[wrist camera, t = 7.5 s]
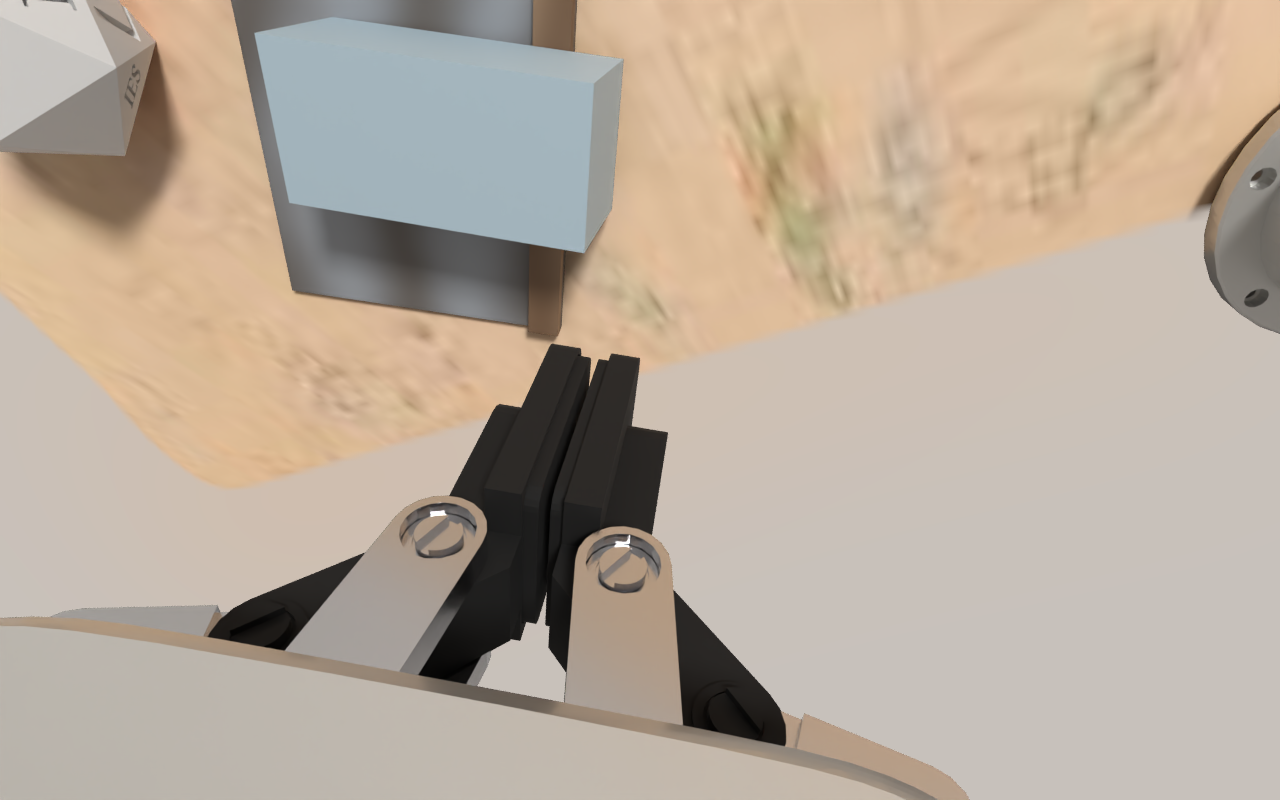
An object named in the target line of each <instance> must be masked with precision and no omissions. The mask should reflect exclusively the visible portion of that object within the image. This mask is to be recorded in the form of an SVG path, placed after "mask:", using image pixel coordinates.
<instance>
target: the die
mask: <svg viewBox="0 0 1280 800" xmlns="http://www.w3.org/2000/svg"><path fill="white" fill-rule="evenodd" d="M155 43H156V41H155V40H154V39H153V38H152V37H151V36H150V34H149V33H148V32H147V31H146V30H145V29H144V28H143V27H142V25H141V24H140V23H139V22H138V21H137V20H136V19H135V18H134V17H133V15H132V14H131V13H130V12H129V11H128V10H127V9H126V8H125V7H123V6H122V5H121V3H120V1H119V0H0V152H20V153H50V154H80V155H109V156H125V155H126V151H127V148H128V144H129V140H130V137H131V133H132V129H133V125H134V122H135V118H136V114H137V110H138V107H139V103H140V99H141V96H142V92H143V88H144V84H145V81H146V77H147V73H148V70H149V66H150V62H151V58H152V55H153V51H154V47H155Z"/></svg>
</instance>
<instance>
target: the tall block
mask: <svg viewBox="0 0 1280 800" xmlns="http://www.w3.org/2000/svg"><path fill="white" fill-rule="evenodd" d="M254 34H255V39H256V43H257V48H258V53H259V58H260V63H261V68H262V73H263V78H264V82H265V87H266V92H267V97H268V102H269V107H270V112H271V116H272V121H273V126H274V131H275V136H276V141H277V146H278V150H279V155H280V160H281V165H282V170H283V175H284V180H285V184H286V189H287V194H288V199H289V203H293V204H299V205H305V206H310V207H316V208H322V209H328V210H334V211H340V212H346V213H351V214H357V215H363V216H369V217H375V218H381V219H387V220H393V221H398V222H404V223H410V224H416V225H422V226H428V227H434V228H439V229H445V230H451V231H457V232H463V233H469V234H475V235H480V236H486V237H492V238H498V239H504V240H510V241H516V242H522V243H527V244H533V245H539V246H545V247H551V248H557V249H563V250H568V251H574V252H580V253H585V251H586V250H587V248H588V246H589V245H590V243H591V242H592V240H593V238H594V237H595V235H596V234H597V232H598V230H599V229H600V227H601V226H602V224H603V222H604V221H605V219H606V218H607V216H608V214H609V213H610V211H611V209H612V201H613V188H614V175H615V163H616V150H617V137H618V125H619V112H620V99H621V87H622V74H623V61H624V59H620V58H613V57H606V56H599V55H592V54H585V53H578V52H571V51H564V50H558V49H551V48H544V47H537V46H530V45H523V44H516V43H509V42H502V41H495V40H489V39H482V38H475V37H468V36H461V35H454V34H447V33H440V32H433V31H426V30H419V29H413V28H406V27H399V26H392V25H385V24H378V23H371V22H364V21H357V20H350V19H344V18H337V17H330V18H325V19H320V20H315V21H310V22H306V23H301V24H296V25H291V26H286V27H281V28H276V29H271V30H266V31H261V32H256V33H254Z"/></svg>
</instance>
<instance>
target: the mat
mask: <svg viewBox="0 0 1280 800" xmlns="http://www.w3.org/2000/svg"><path fill="white" fill-rule="evenodd" d="M231 2H232V7H233V12H234V17H235V21H236V26H237V31H238V35H239V40H240V45H241V50H242V54H243V59H244V64H245V69H246V73H247V78H248V83H249V87H250V92H251V97H252V102H253V106H254V111H255V116H256V121H257V125H258V130H259V135H260V139H261V144H262V149H263V154H264V158H265V163H266V168H267V173H268V177H269V182H270V187H271V191H272V196H273V201H274V206H275V210H276V215H277V220H278V225H279V229H280V234H281V239H282V243H283V248H284V253H285V258H286V262H287V267H288V272H289V277H290V281H291V286H292V290H294V291H300V292H307V293H314V294H320V295H327V296H334V297H340V298H347V299H354V300H360V301H367V302H374V303H380V304H387V305H394V306H400V307H407V308H414V309H420V310H427V311H434V312H440V313H447V314H454V315H460V316H467V317H474V318H480V319H487V320H494V321H501V322H507V323H514V324H521V325H527V326H528V332H532V333H539V334H546V335H552V336H558V334H559V331H560V329H561V326H562V305H563V284H564V263H565V250H563V249H557V248H551V247H545V246H539V245H533V244H527V243H522V242H516V241H510V240H504V239H498V238H492V237H486V236H480V235H475V234H469V233H463V232H457V231H451V230H445V229H439V228H434V227H428V226H422V225H416V224H410V223H404V222H398V221H393V220H387V219H381V218H375V217H369V216H363V215H357V214H351V213H346V212H340V211H334V210H328V209H322V208H316V207H310V206H305V205H299V204H293V203H289V199H288V194H287V189H286V184H285V180H284V175H283V170H282V165H281V160H280V155H279V150H278V146H277V141H276V136H275V131H274V126H273V121H272V116H271V112H270V107H269V102H268V97H267V92H266V87H265V82H264V78H263V73H262V68H261V63H260V58H259V53H258V48H257V43H256V39H255V34H254V33H256V32H261V31H266V30H271V29H276V28H281V27H286V26H291V25H296V24H301V23H306V22H310V21H315V20H320V19H325V18H330V17H337V18H344V19H350V20H357V21H364V22H371V23H378V24H385V25H392V26H399V27H406V28H413V29H419V30H426V31H433V32H440V33H447V34H454V35H461V36H468V37H475V38H482V39H489V40H495V41H502V42H509V43H516V44H523V45H530V46H537V47H544V48H551V49H558V50H564V51H571V52H575V33H576V12H577V0H231Z"/></svg>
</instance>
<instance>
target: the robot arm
mask: <svg viewBox="0 0 1280 800" xmlns="http://www.w3.org/2000/svg"><path fill="white" fill-rule="evenodd" d="M1204 259H1205V262H1206V266H1207V270H1208V274H1209V278H1210V280H1211V282H1212V284H1213V285H1214V287H1215V288H1216V290H1217V292H1218V293H1219V294H1220V296H1221V298H1222V299H1223V300H1225V301H1226V302H1227V303H1228V304H1229V305H1230V306H1232V307H1233V308H1234V309H1235V310H1236V311H1237V312H1238V313H1240V314H1241V315H1243V316H1244V317H1246V318H1247V319H1249V320H1250V321H1252V322H1253V323H1255V324H1256V325H1258V326H1260V327H1262V328H1265V329H1268V330H1271V331H1274V332H1276V333H1279V334H1280V109H1279V110H1278V111H1277V112H1276V113H1275V114H1273V115H1272V116H1271V117H1270V118H1269V120H1268V121H1267V122H1266V123H1265V124H1264V125H1263V126H1262V127H1261V129H1260V130H1259V131H1258V132H1257V133H1256V134H1255V135H1254V137H1253V138H1252V139H1251V140H1250V141H1249V142H1248V143H1247V144H1246V146H1245V147H1244V148H1243V150H1242V151H1241V153H1240V154H1239V156H1238V157H1237V159H1236V160H1235V162H1234V163H1233V165H1232V166H1231V168H1230V169H1229V171H1228V172H1227V174H1226V175H1225V177H1224V179H1223V181H1222V183H1221V186H1220V188H1219V190H1218V192H1217V194H1216V196H1215V199H1214V201H1213V203H1212V205H1211V209H1210V213H1209V217H1208V221H1207V225H1206V229H1205V234H1204ZM639 365H640V358H636V357H630V356H624V355H618V354H611V356H610V358H609V361H607V360H601V359H599V360H598V363H597V366H596V369H595V372H594V374H593V377H592V380H591V383H590V386H589V379H590V367H591V358H589V357H583V356H581V349H580V348H575V347H569V346H563V345H557V344H551V345H550V347H549V349H548V351H547V353H546V356H545V358H544V360H543V362H542V364H541V366H540V369H539V371H538V373H537V375H536V377H535V379H534V381H533V384H532V386H531V388H530V390H529V392H528V394H527V397H526V399H525V401H524V403H523V405H522V407H521V408H520V407H514V406H508V405H502V404H499V405H497V406H496V407H495V409H494V410H493V412H492V414H491V416H490V418H489V420H488V422H487V424H486V426H485V428H484V430H483V432H482V434H481V435H480V438H479V439H478V441H477V443H476V445H475V447H474V449H473V451H472V453H471V455H470V457H469V459H468V461H467V463H466V465H465V466H464V469H463V470H462V472H461V474H460V476H459V478H458V480H457V482H456V484H455V486H454V488H453V490H452V492H451V494H450V495H449V496H433V497H429V498H425V499H422V500H419V501H416V502H414V503H413V504H411V505H409V506H407V507H405V508H404V509H403V510H402V511H401V512H400V513H399V514H398V515H397V516H395V518H394V519H393V520H392V522H390V524H389V525H388V526H387V527H386V529H385V530H384V531H383V532H382V533H381V535H380V536H379V537H378V538H377V539H376V541H375V542H374V543H373V544H372V546H371V547H370V548H369V549H368V550H367V552H365V553H363V554H360V555H358V556H355V557H353V558H350V559H348V560H346V561H343V562H341V563H339V564H336V565H333V566H331V567H329V568H326V569H324V570H321V571H319V572H316V573H314V574H311V575H309V576H307V577H304V578H302V579H299V580H297V581H294V582H292V583H289V584H287V585H284V586H282V587H279V588H277V589H274V590H272V591H270V592H267V593H265V594H262V595H260V596H257V597H255V598H252V599H250V600H248V601H246V602H244V603H242V604H241V605H239V606H237V607H235V608H233V609H232V610H231V611H230V612H220V610H219V608H218V606H217V605H212V606H211V605H209V606H169V607H168V606H167V607H166V606H165V607H123V608H84V609H76V610H70V611H64V612H61V613H58V614H56V615H53V616H51V617H15V618H14V617H12V618H0V800H969V798H968V796H967V794H966V793H965V792H964V791H963V790H962V789H961V787H960V786H959V785H957V783H956V782H955V781H954V780H953V779H952V778H951V777H949V776H948V775H946V774H944V773H943V772H941V771H939V770H938V769H936V768H934V767H933V766H930V765H928V764H925V763H923V762H921V761H918V760H916V759H913V758H911V757H909V756H906V755H904V754H901V753H899V752H897V751H894V750H892V749H889V748H886V747H884V746H882V745H880V744H877V743H875V742H872V741H870V740H868V739H865V738H863V737H860V736H858V735H855V734H853V733H850V732H848V731H846V730H843V729H841V728H838V727H836V726H834V725H831V724H829V723H826V722H824V721H822V720H819V719H817V718H814V717H812V716H809V715H807V714H804V715H803V717H802V719H798V718H796V717H793V716H791V715H789V714H786V713H784V712H782V711H781V710H780V708H779V707H778V705H777V704H776V703H775V701H774V700H773V698H772V697H771V695H770V694H769V693H768V692H767V691H766V690H765V689H764V688H763V687H762V686H761V684H760V683H759V682H758V681H757V680H756V679H755V678H754V677H753V676H752V675H751V673H750V672H749V671H748V670H747V669H746V668H745V667H744V666H743V665H742V664H741V663H740V662H739V660H738V659H737V658H736V657H735V656H734V655H733V654H732V653H731V652H730V651H729V650H728V649H727V647H726V646H725V645H724V644H723V643H722V642H721V641H720V640H719V639H718V638H717V637H716V635H715V634H714V633H713V632H712V631H711V630H710V629H709V628H708V627H707V626H706V625H705V624H704V622H703V621H702V620H701V619H700V618H699V617H698V616H697V615H696V614H695V613H694V612H693V610H692V609H691V608H690V607H689V606H688V605H687V604H686V603H685V602H684V601H683V600H682V599H681V598H680V596H679V595H678V594H677V593H676V592H675V591H674V590H673V581H672V580H673V579H672V565H671V561H670V557H669V554H668V552H667V551H666V549H665V548H664V546H663V545H662V543H661V542H659V541H658V540H657V539H655V538H654V537H653V536H652V531H653V525H654V518H655V512H656V506H657V499H658V493H659V487H660V480H661V473H662V468H663V461H664V455H665V449H666V442H667V435H668V433H667V432H662V431H656V430H650V429H644V428H638V427H632V419H633V410H634V403H635V396H636V387H637V380H638V373H639ZM546 592H547V598H546V623H545V624H546V626H550V627H549V628H550V629H549V649H550V650H551V652H552V653H553V654H554V656H555V657H556V659H557V660H558V662H559V663H560V664H561V666H562V667H563V669H564V670H565V672H566V682H565V695H564V703H563V702H558V701H553V700H548V699H542V698H537V697H531V696H526V695H521V694H515V693H510V692H504V691H499V690H494V689H488V688H483V687H478V686H477V685H478V684H479V682H480V680H481V678H482V676H483V674H484V672H485V670H486V668H487V666H488V663H489V660H490V657H491V651H492V650H493V649H495V648H497V647H499V646H501V645H503V644H505V643H506V642H508V641H510V639H513V640H519V641H520V640H521V637H522V633H523V630H524V627H525V624H526V622H529V623H535V624H536V623H537V621H538V619H539V616H540V612H541V609H542V606H543V602H544V599H545V596H546Z"/></svg>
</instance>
